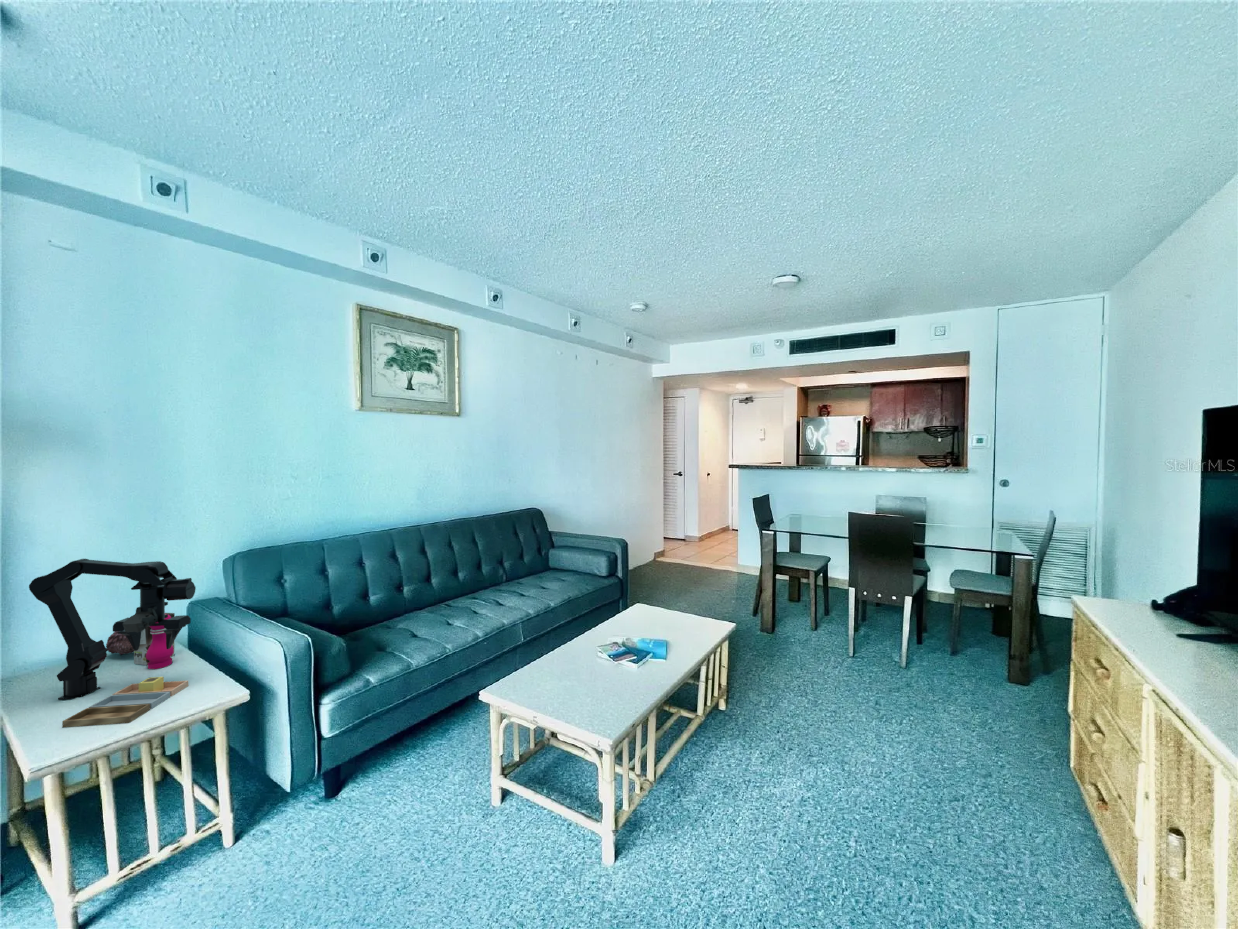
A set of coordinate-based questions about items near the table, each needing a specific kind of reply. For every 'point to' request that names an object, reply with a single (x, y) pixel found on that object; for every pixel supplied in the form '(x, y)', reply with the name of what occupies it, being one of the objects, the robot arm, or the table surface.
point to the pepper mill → (159, 648)
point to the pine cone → (119, 644)
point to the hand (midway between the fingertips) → (152, 649)
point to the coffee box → (146, 645)
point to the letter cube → (152, 684)
